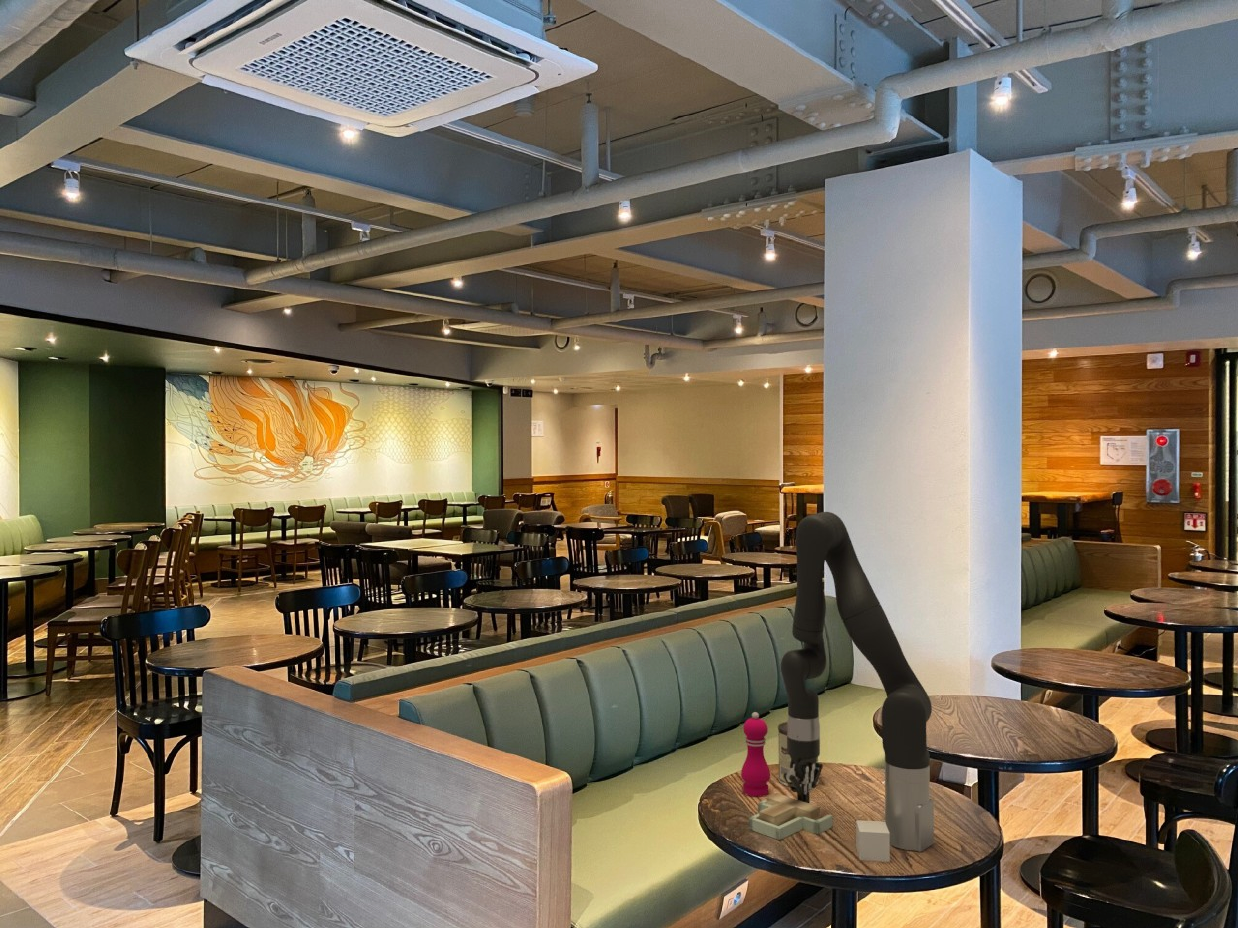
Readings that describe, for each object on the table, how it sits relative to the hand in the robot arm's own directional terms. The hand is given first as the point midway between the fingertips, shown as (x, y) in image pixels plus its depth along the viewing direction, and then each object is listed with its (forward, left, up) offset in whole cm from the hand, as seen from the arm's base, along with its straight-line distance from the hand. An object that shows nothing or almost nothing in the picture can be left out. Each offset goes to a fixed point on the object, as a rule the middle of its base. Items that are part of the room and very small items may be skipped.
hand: (803, 808), depth 207 cm
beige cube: (-22, +7, -2) cm, 24 cm away
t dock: (0, +8, -2) cm, 8 cm away
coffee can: (+14, -18, -2) cm, 22 cm away
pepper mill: (+17, -4, -2) cm, 17 cm away
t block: (0, +8, -2) cm, 8 cm away
